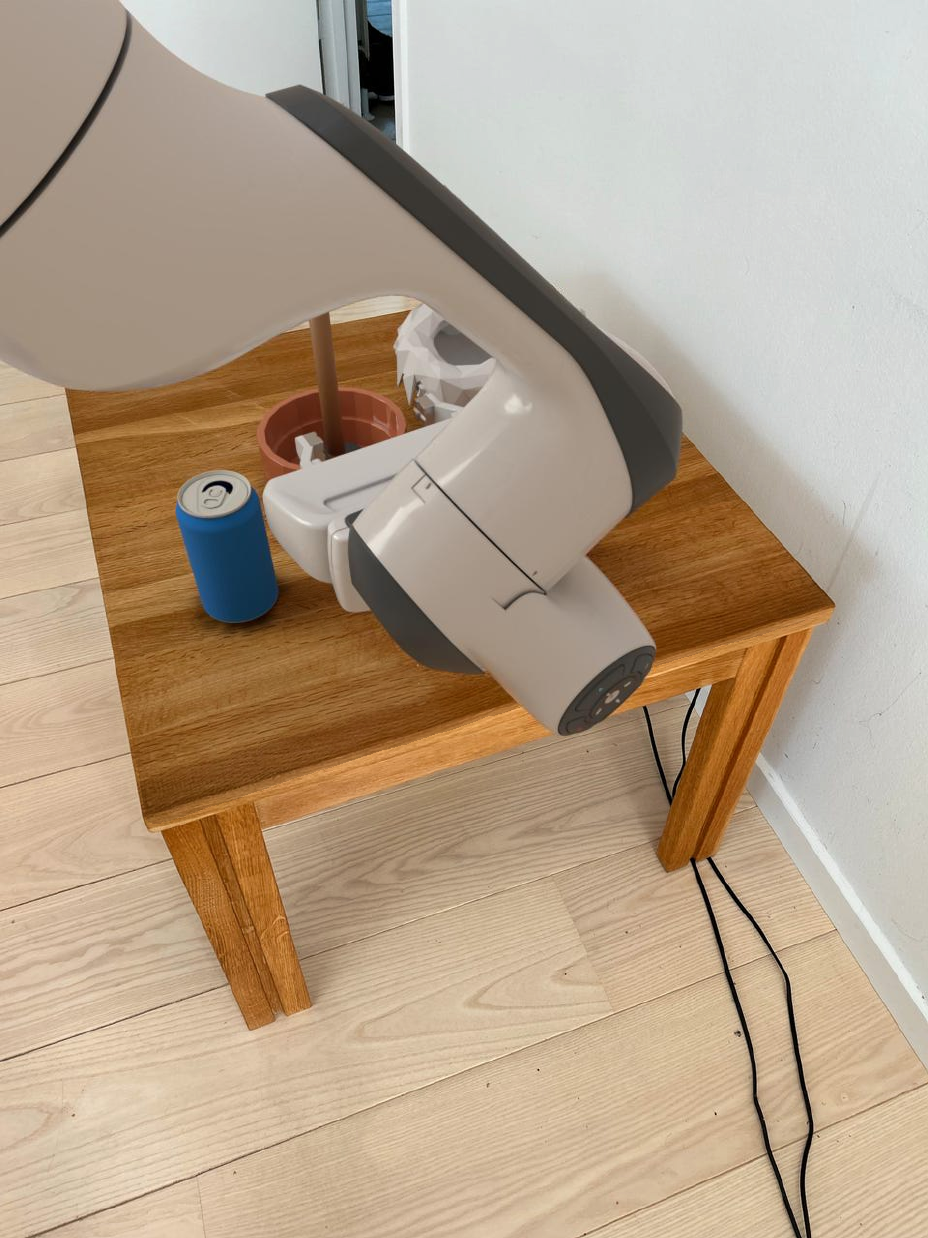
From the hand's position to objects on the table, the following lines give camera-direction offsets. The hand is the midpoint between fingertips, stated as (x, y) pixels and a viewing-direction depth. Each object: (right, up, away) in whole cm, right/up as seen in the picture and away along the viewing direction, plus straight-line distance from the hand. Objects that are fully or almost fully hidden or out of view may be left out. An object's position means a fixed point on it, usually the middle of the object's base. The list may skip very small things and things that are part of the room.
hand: (364, 422), depth 67 cm
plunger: (-5, 0, +24) cm, 24 cm away
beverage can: (-12, -13, +13) cm, 22 cm away
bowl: (+10, +9, +33) cm, 36 cm away
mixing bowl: (-5, -1, +24) cm, 25 cm away
